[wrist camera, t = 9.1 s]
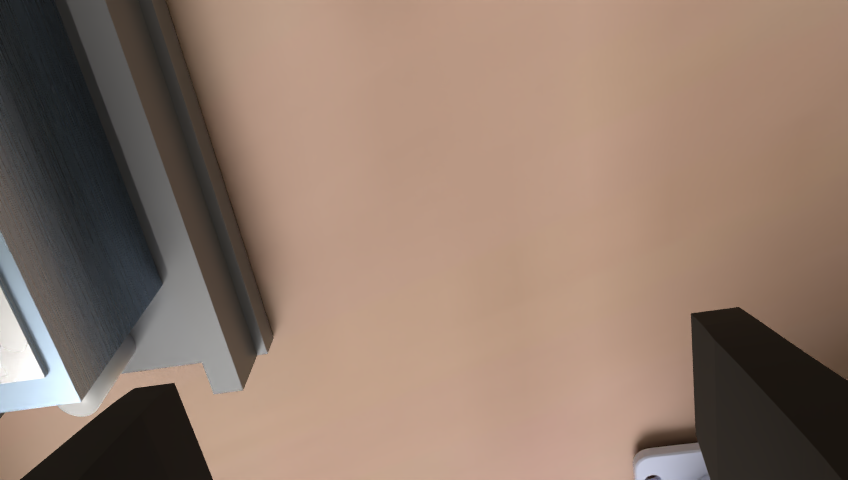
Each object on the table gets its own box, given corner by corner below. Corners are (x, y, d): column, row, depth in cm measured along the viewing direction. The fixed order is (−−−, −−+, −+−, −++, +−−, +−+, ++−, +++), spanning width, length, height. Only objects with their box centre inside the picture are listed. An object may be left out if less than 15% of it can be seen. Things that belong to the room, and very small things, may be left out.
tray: (273, 337, 22) (246, 408, 19) (5, 375, 23) (-58, 447, 20) (113, -162, 17) (42, -168, 14) (-231, -86, 17) (-366, -76, 15)
